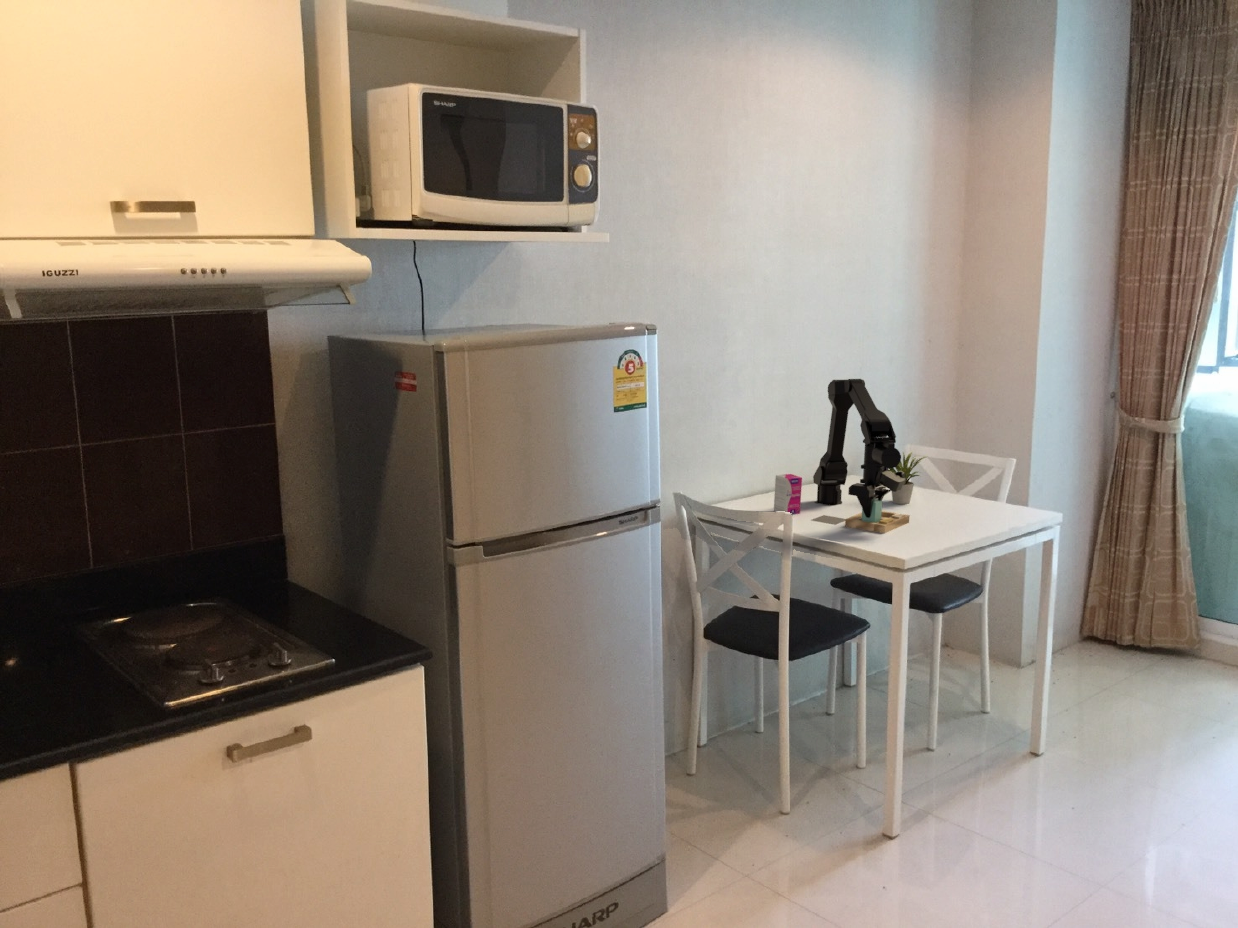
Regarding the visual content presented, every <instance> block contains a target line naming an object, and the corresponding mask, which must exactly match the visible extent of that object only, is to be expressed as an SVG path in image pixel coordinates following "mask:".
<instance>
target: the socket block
mask: <svg viewBox="0 0 1238 928" xmlns="http://www.w3.org/2000/svg"><path fill="white" fill-rule="evenodd" d="M910 516H911V515H909V514H904V513H898V512H891V511H884V510H882V512H881V520H880V521H879V522H878V523H873V522H867V521H862V512H860V513H858V514H855V515H852V516H849V517H847V518H844V519H845V521H844V527H846V528H852V529H858V530H863V531H867V532H875V533H881V534H887V533H889V532H890V531H891V532H892V531H893V530H896V529H898V528H900V527H902V526H904V525H907V524H910Z"/></svg>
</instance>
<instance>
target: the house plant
mask: <svg viewBox="0 0 1238 928" xmlns="http://www.w3.org/2000/svg"><path fill="white" fill-rule="evenodd" d="M912 454H913V452H910V453H908V455H907V456H905V455H906V454H905V453H904V452H902V455H903V457H902V461H900V463H899V464H898V465H897V466H896V467H894V468H888V471H889V472H891V473H893V472H894V474H896V473H897V472H899V471H902V472H904V473H905V479H906V480H905V481H906V483H905V484H903V486H902V488H901V490H898V491H897V492H893V491H891V499H892V502H893V503H894V504H898V505H905V504H906V505H909V504H910V503H911V499H912V493H913V491H914V485H915V483H914V482H912V481H910V479H911V478H914V477H920V475H919V474H918V473H920V474H922V472H920V471H914V472H912V470H913V469H915V467H917V465H918V464H919V463H920V462H921V461H922V460H923V459H926V458H927V456H923V457H921V458H917V459H916V455H914V456H913V458H912V459H911V457H912ZM909 461H910V462H909ZM911 472H912V473H911Z"/></svg>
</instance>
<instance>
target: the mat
mask: <svg viewBox="0 0 1238 928" xmlns="http://www.w3.org/2000/svg"><path fill="white" fill-rule="evenodd" d="M845 519H846V518H842V517H837V516H831V515H825V514H823V515H820V516H818V517H815V518H813V519H811V521H813V522H817V523H818V522H819V523H824V524H829V525H834V526H835V525H837V524H841V523H845Z"/></svg>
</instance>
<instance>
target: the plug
mask: <svg viewBox="0 0 1238 928" xmlns="http://www.w3.org/2000/svg"><path fill="white" fill-rule="evenodd" d="M882 511H883V499H882V500H878V498H875V499H874V500H873V505H872V511H871V516H870V518H867V517H866V516H865V513H864V511H863V509H862V508H861V513H862V521H867V522H873V523H878V522H879V521H880V520H881V512H882Z"/></svg>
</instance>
